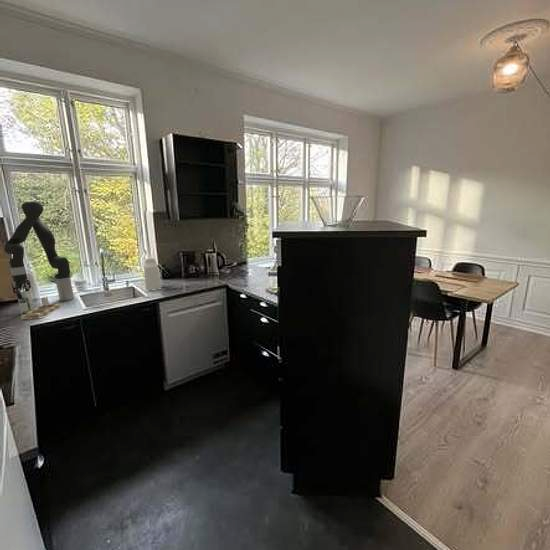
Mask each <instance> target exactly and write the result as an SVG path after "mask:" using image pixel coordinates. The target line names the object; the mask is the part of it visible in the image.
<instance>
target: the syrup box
mask: <svg viewBox="0 0 550 550" xmlns="http://www.w3.org/2000/svg"><path fill="white" fill-rule="evenodd" d="M21 295H22V299H18V298H17V301H18V305H19V309H20V314H21V315H24V314H23V313H28V312H29V311H31V310H33V309H35V306H34V302H33V297H32V294H31V290H29V291H25V290H24V291H21Z"/></svg>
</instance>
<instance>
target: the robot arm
mask: <svg viewBox="0 0 550 550" xmlns="http://www.w3.org/2000/svg"><path fill="white" fill-rule="evenodd" d="M43 205H44V204H42V203H41V202H39V201H34V200H33V201H25V202H23V203H22V204H21V210H22V212H23V214H24V216H25V218H24V219H23V220H22V221H21V222H20V223H19V224H18V225H17V227H16V228H15V230H14V232H13V233H12V236H11V237H10V238H9V239H8V240H7V242H6V243H5V245H4V246H3V250H4V253H6V254H8V255H12V258H10V259H9V266H10V272H11V273H10V274H11V278H12V281H13V282H15V283H14V284H11V286H12V292H13V294H16V297H17V300H18V299H22V295H21V292H22V291H23V290H24V292H25V291H31V290H30V289H32V286H31V281H30V279H28V275H27V270H26V267H25V262H24V257H25V255H24V254H25V249H24V247H23V245H21V244H22V243H25V242H26V240H27V238H28V236H29V233H30V232H31V229H33V231H34V233H35V234H36V237H37V239H38V241H39V243H40V244H41V246H42V249H43V251H44V253H45V254H46V259H47V260H48V265H50V267H51V268H52V269H55V270H57V273H56V274H55V275H54V278H55V283H56V289H57V294H58V298H59V301H61V302H64V301H71V300H72V299H74V298H75V295H74V291H73V286H72V281H71V276H70V274H71V267H70V262H69V260H68V258H67V257H65V256H59V255H58V253H57V251H56V238H55V236H54V233H53V232H52V230H51V229H50V227H48V226H47V225H46V224H45V223H44V222H43V221H42V220H41V215H42V214H43V212H44V206H43Z"/></svg>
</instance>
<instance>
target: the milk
mask: <svg viewBox="0 0 550 550" xmlns="http://www.w3.org/2000/svg"><path fill="white" fill-rule="evenodd" d="M155 259H156V258H154V257H152V258H146V259H145V263H144V280H145V291H146V290H152V289H159V288H161V287H162V282H161V276H160V271H159V265H158V263H157V261H156V260H155Z"/></svg>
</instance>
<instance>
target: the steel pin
mask: <svg viewBox="0 0 550 550" xmlns="http://www.w3.org/2000/svg"><path fill="white" fill-rule="evenodd" d="M40 299H41V305H43V309H46V308H50V307H49V304H50V303H49V298H48V297H47V296H45V297H41V298H40Z"/></svg>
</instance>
